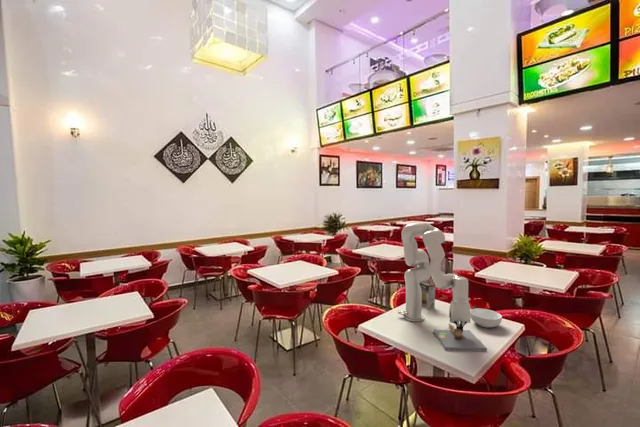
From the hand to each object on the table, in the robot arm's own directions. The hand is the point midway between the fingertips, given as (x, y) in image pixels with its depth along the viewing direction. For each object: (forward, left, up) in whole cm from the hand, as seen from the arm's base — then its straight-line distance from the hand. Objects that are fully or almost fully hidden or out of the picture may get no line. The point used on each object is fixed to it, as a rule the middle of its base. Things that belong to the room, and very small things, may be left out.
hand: (459, 332), depth 166 cm
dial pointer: (-3, 0, 0) cm, 3 cm away
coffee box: (-5, +45, -3) cm, 46 cm away
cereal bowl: (+21, +16, -3) cm, 27 cm away
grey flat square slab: (-3, -5, -2) cm, 6 cm away
